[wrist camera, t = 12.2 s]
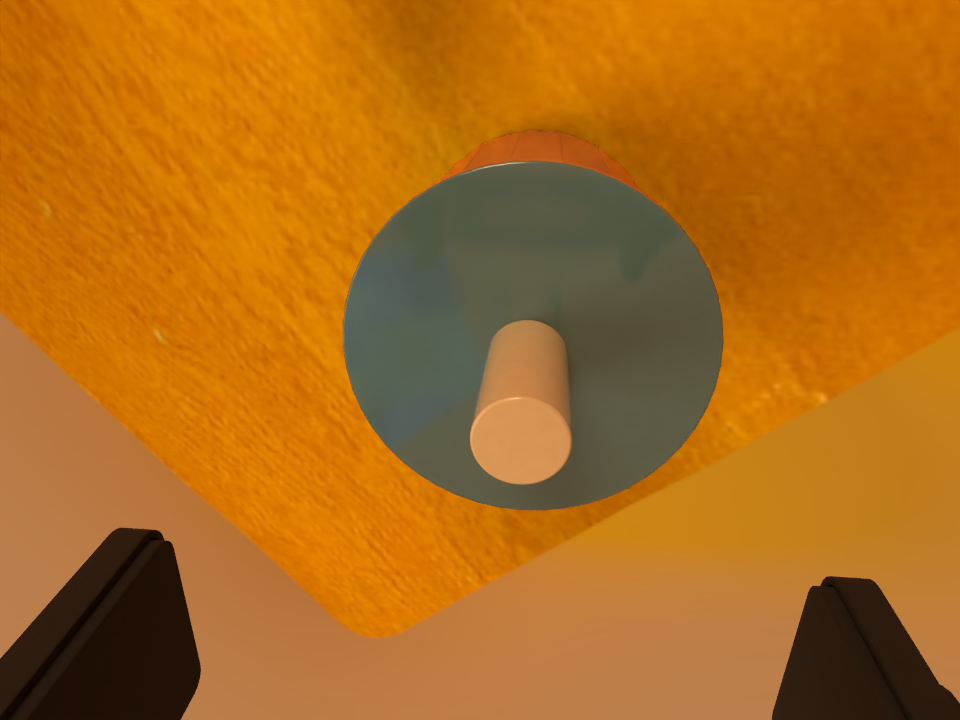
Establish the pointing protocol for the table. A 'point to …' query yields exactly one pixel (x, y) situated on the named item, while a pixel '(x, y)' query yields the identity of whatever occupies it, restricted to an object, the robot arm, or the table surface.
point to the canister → (542, 152)
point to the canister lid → (533, 334)
